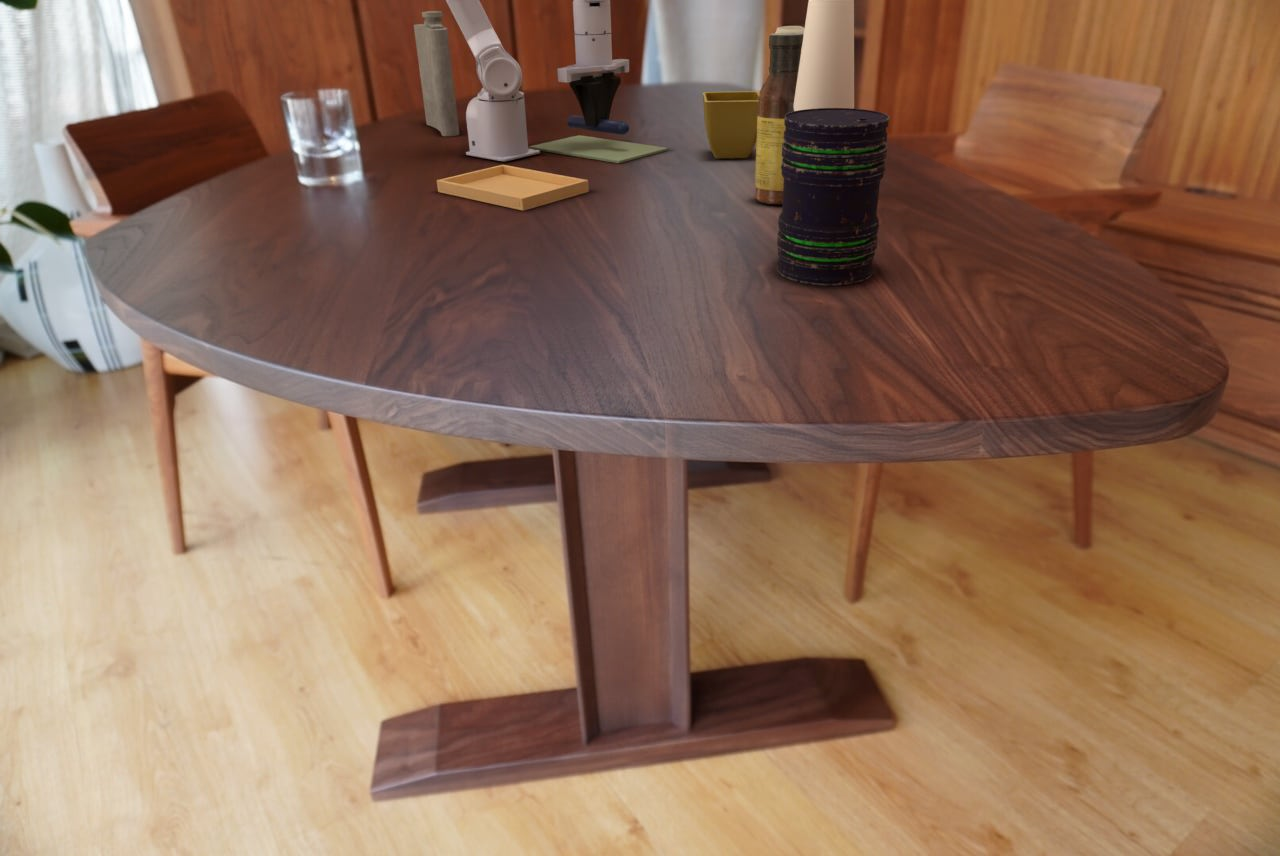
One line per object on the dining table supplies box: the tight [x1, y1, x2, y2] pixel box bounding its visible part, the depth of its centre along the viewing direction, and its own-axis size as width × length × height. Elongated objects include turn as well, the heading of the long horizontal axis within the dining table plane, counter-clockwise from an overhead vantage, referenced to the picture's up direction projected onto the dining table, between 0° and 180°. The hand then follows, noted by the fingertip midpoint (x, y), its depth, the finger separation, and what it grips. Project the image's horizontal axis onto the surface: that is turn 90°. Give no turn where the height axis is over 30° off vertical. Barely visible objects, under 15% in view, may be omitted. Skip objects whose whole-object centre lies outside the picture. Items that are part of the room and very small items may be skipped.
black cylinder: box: [776, 108, 890, 286], centre depth 88 cm, size 10×10×15 cm
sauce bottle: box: [754, 32, 803, 206], centre depth 112 cm, size 7×6×20 cm
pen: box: [566, 114, 630, 136], centre depth 147 cm, size 13×2×2 cm, turn 50°
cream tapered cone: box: [793, 0, 855, 111], centre depth 102 cm, size 7×7×24 cm
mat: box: [528, 134, 669, 164], centre depth 149 cm, size 20×12×1 cm, turn 50°
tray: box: [436, 164, 590, 212], centre depth 124 cm, size 17×12×2 cm
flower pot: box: [702, 90, 760, 160], centre depth 140 cm, size 9×9×9 cm
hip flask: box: [413, 10, 460, 137], centre depth 164 cm, size 16×4×20 cm, turn 24°
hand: (596, 124), depth 147 cm, fingers closed on pen, 2 cm apart
